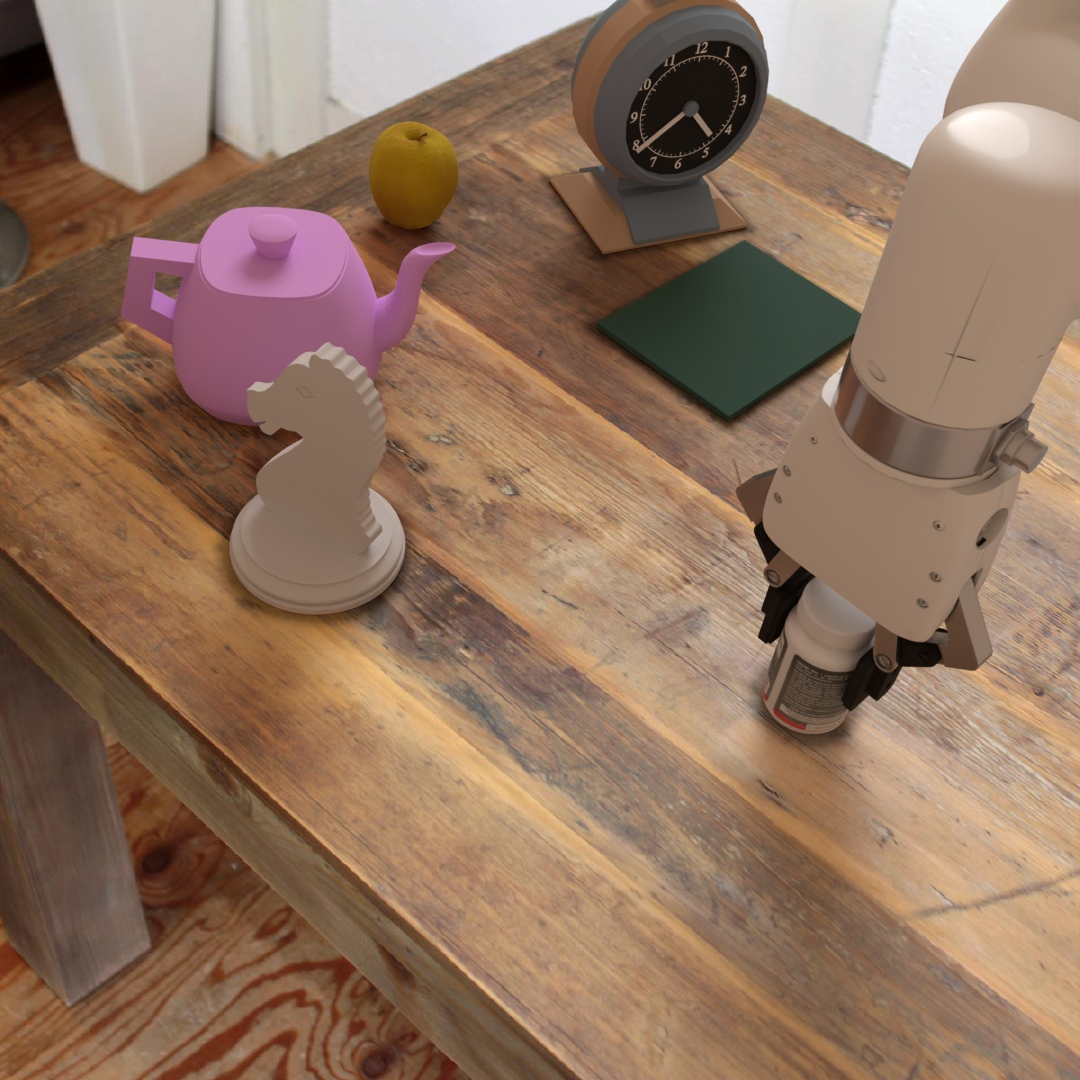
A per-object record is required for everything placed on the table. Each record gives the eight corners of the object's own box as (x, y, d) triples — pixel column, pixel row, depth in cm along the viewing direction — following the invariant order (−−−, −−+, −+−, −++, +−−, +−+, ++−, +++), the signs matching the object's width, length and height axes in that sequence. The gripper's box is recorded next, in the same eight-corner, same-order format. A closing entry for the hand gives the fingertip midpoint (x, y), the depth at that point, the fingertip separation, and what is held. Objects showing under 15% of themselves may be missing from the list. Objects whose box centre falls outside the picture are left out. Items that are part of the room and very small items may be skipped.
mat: (743, 245, 100) (744, 239, 100) (871, 326, 95) (873, 320, 95) (595, 328, 92) (596, 322, 91) (727, 422, 87) (729, 416, 86)
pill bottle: (864, 720, 72) (911, 624, 65) (790, 748, 70) (831, 653, 64) (816, 654, 74) (856, 556, 68) (744, 679, 73) (779, 581, 66)
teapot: (446, 451, 82) (455, 308, 74) (113, 436, 80) (84, 287, 72) (448, 314, 91) (457, 172, 83) (148, 297, 89) (127, 151, 81)
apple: (438, 255, 95) (444, 157, 90) (354, 233, 96) (354, 134, 90) (466, 207, 100) (473, 111, 94) (386, 187, 100) (387, 90, 95)
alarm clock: (590, 256, 97) (626, 25, 84) (537, 182, 103) (562, -45, 90) (758, 225, 102) (817, 2, 89) (698, 156, 108) (745, -63, 95)
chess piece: (298, 463, 80) (288, 258, 69) (437, 531, 78) (450, 329, 67) (193, 565, 74) (164, 358, 63) (340, 643, 72) (336, 442, 61)
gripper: (1151, 472, 54) (996, 724, 68) (822, 268, 61) (742, 532, 75) (1056, 562, 50) (912, 810, 64) (717, 332, 58) (652, 599, 71)
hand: (821, 657), depth 69 cm, fingers closed on pill bottle, 4 cm apart
